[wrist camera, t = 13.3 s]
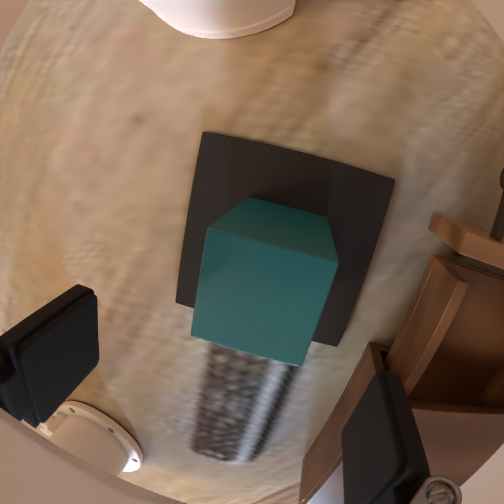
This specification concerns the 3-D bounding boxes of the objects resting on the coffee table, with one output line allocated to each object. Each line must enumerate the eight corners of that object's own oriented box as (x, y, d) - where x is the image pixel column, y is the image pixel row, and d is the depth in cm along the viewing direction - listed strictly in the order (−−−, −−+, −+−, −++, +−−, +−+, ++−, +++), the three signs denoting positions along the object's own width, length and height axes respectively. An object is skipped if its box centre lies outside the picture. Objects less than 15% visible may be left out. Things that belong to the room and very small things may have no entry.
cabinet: (368, 341, 21) (382, 404, 15) (498, 365, 20) (528, 414, 14) (302, 459, 27) (297, 512, 20) (415, 470, 25) (423, 516, 19)
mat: (177, 300, 23) (175, 302, 23) (204, 131, 19) (202, 131, 18) (336, 344, 22) (337, 347, 21) (393, 179, 18) (395, 179, 17)
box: (231, 270, 21) (189, 336, 13) (247, 196, 19) (206, 227, 12) (305, 290, 20) (301, 367, 13) (327, 217, 19) (339, 262, 11)
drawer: (450, 144, 16) (489, 145, 11) (567, 209, 14) (606, 224, 10) (354, 393, 22) (359, 439, 17) (472, 407, 21) (488, 444, 16)
